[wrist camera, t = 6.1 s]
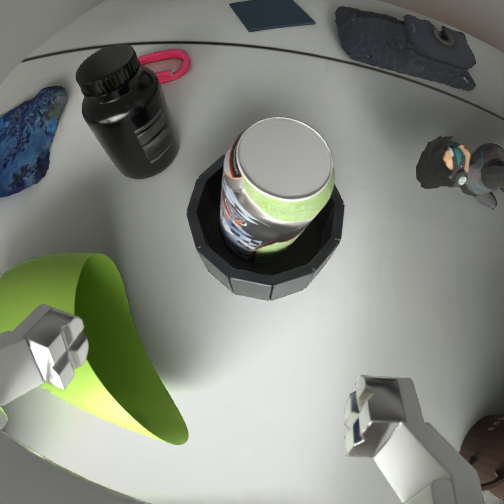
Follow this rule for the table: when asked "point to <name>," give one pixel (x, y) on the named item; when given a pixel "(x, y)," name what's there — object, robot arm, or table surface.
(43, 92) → the rock
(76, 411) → the table surface
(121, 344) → the green hollow scoop
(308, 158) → the beverage can
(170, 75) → the fitness band
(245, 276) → the stand
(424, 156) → the figurine
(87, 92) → the supplement bottle
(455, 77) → the dark slate chunk
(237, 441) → the table surface
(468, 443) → the coffee mug
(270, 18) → the rubber pad
